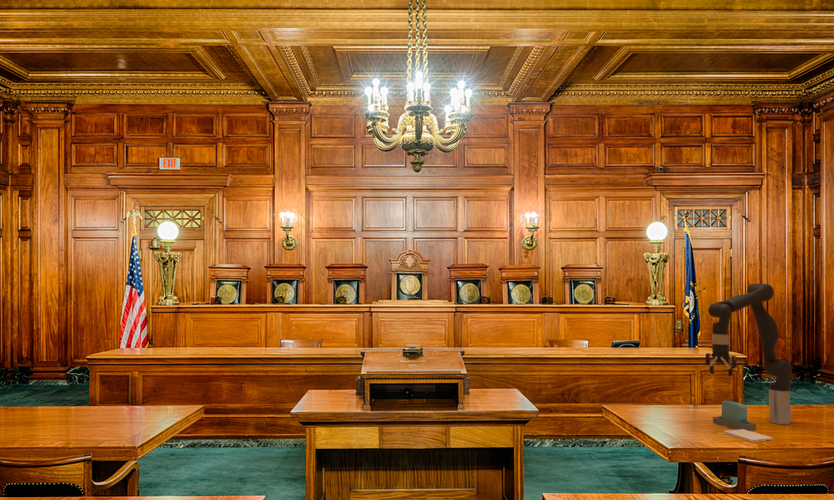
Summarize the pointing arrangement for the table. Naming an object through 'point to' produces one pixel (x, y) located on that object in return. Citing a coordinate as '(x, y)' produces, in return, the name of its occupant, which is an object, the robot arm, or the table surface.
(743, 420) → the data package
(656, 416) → the table surface
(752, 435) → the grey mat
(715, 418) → the holder box
